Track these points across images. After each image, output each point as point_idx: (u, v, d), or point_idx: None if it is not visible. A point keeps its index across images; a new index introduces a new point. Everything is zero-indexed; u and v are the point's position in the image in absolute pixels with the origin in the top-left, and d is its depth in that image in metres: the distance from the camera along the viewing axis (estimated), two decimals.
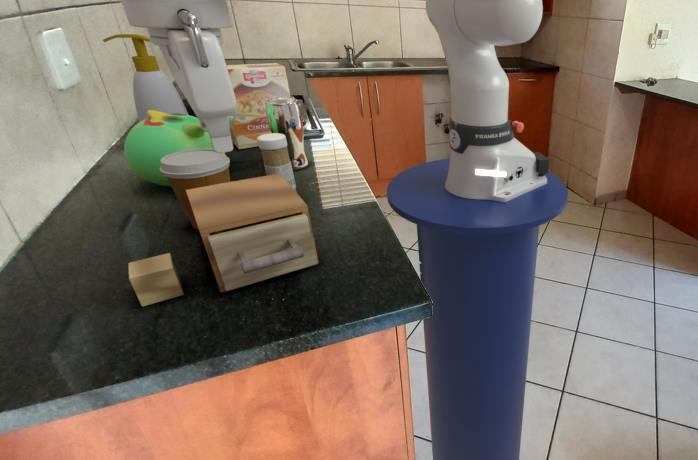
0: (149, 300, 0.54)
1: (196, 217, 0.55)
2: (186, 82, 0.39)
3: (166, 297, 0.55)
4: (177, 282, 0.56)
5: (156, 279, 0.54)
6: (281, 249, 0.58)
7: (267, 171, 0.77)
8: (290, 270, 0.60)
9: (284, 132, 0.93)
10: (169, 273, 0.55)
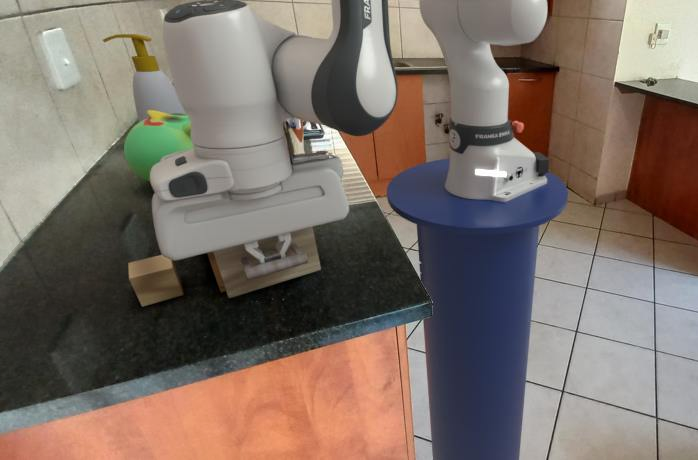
0: (149, 300, 0.54)
1: None
2: (343, 195, 0.55)
3: (166, 297, 0.55)
4: (177, 282, 0.56)
5: (156, 279, 0.54)
6: (285, 255, 0.57)
7: None
8: (294, 276, 0.59)
9: None
10: (169, 273, 0.55)
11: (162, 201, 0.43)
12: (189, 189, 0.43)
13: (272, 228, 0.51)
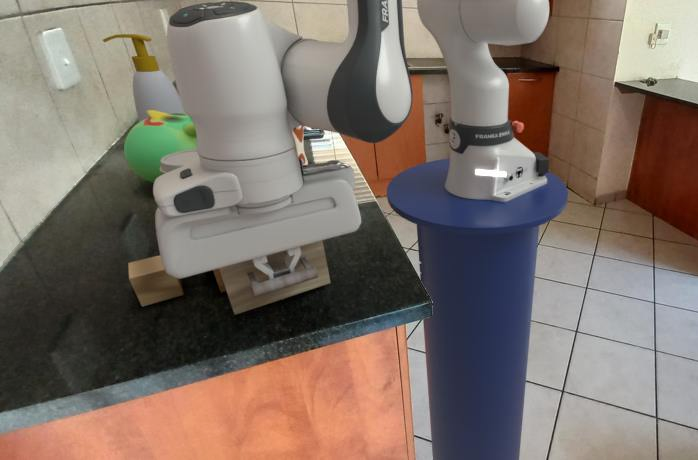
0: (149, 300, 0.54)
1: None
2: (355, 207, 0.52)
3: (166, 297, 0.55)
4: (177, 282, 0.56)
5: (156, 279, 0.54)
6: None
7: None
8: (302, 290, 0.56)
9: None
10: None
11: (166, 217, 0.40)
12: (195, 204, 0.40)
13: (282, 242, 0.48)
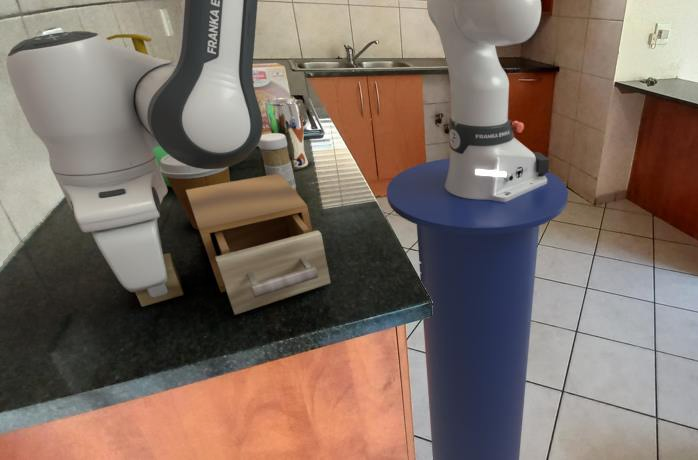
0: (149, 300, 0.54)
1: (196, 217, 0.55)
2: None
3: (166, 297, 0.55)
4: (177, 282, 0.56)
5: None
6: (293, 269, 0.54)
7: (267, 171, 0.77)
8: (302, 290, 0.56)
9: (284, 132, 0.93)
10: (169, 273, 0.55)
11: (148, 224, 0.46)
12: (157, 203, 0.48)
13: (159, 237, 0.55)
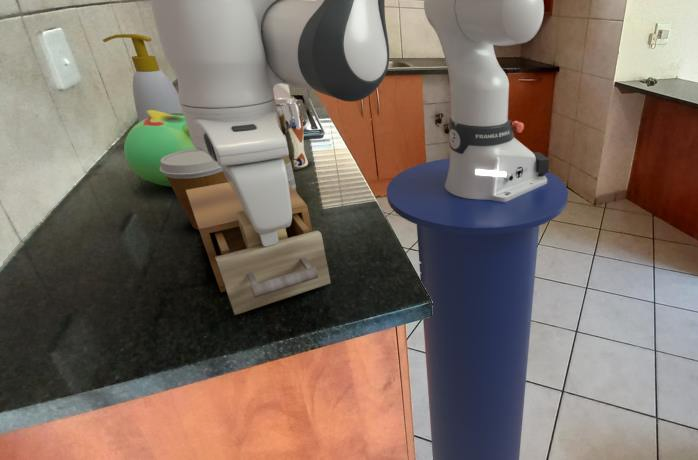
0: None
1: (196, 217, 0.55)
2: None
3: None
4: (285, 233, 0.54)
5: None
6: (293, 269, 0.54)
7: None
8: (302, 290, 0.56)
9: (284, 132, 0.93)
10: None
11: (279, 161, 0.44)
12: None
13: None
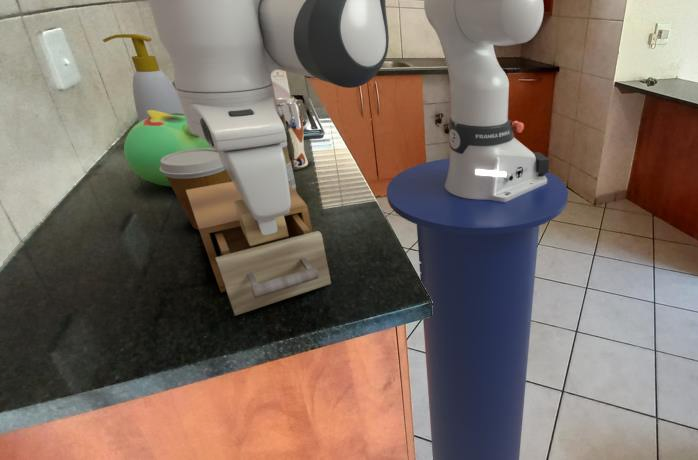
0: (257, 239, 0.52)
1: (196, 217, 0.55)
2: None
3: (273, 237, 0.53)
4: (284, 222, 0.53)
5: None
6: (293, 269, 0.54)
7: None
8: (303, 291, 0.56)
9: None
10: None
11: (277, 147, 0.43)
12: None
13: None
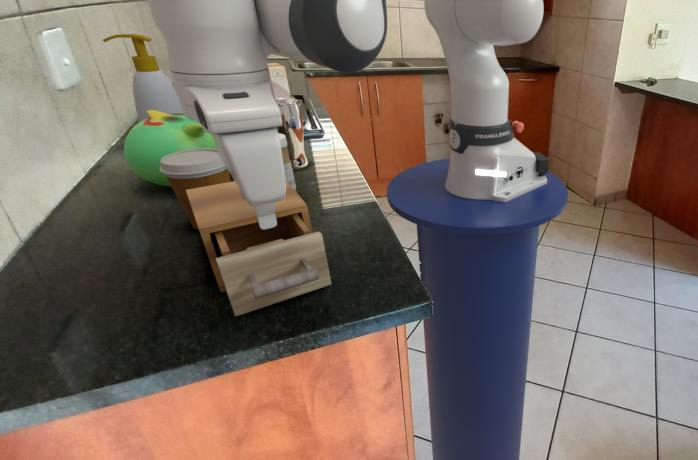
0: None
1: (196, 217, 0.55)
2: None
3: None
4: None
5: None
6: (294, 270, 0.54)
7: None
8: (303, 292, 0.56)
9: (284, 132, 0.93)
10: None
11: (272, 131, 0.43)
12: None
13: None
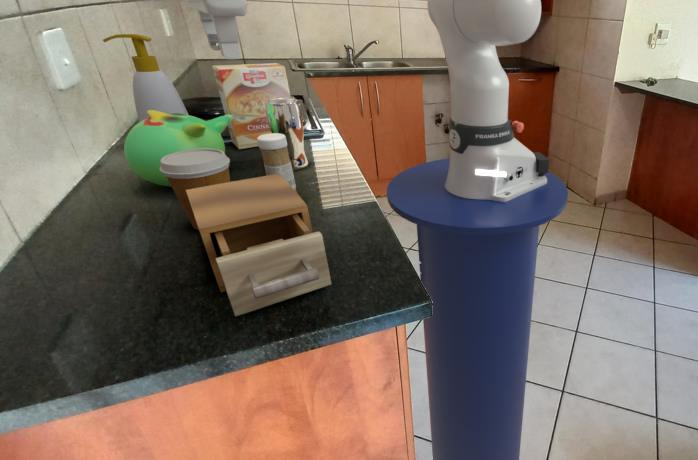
0: None
1: (196, 217, 0.55)
2: None
3: None
4: None
5: None
6: (294, 270, 0.54)
7: (267, 171, 0.77)
8: (303, 292, 0.56)
9: (284, 132, 0.93)
10: None
11: None
12: None
13: None
